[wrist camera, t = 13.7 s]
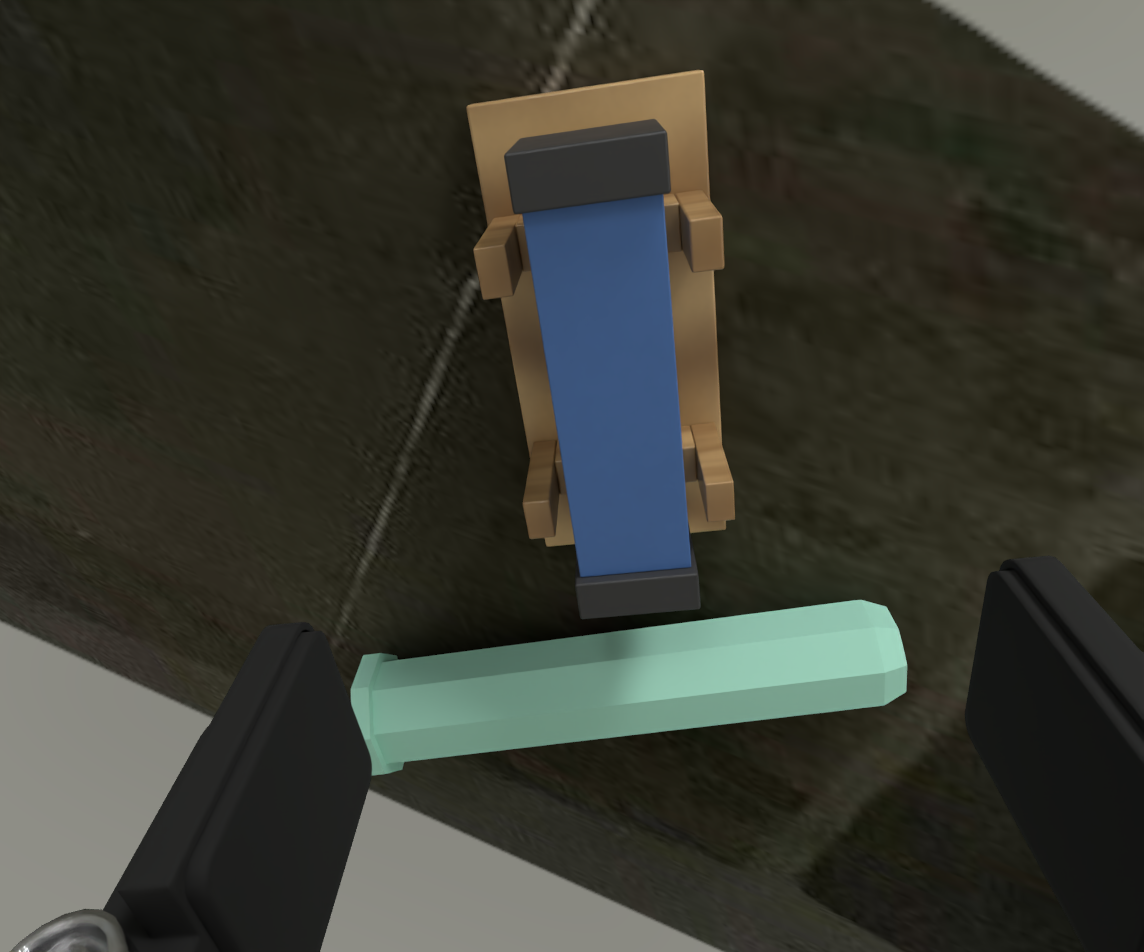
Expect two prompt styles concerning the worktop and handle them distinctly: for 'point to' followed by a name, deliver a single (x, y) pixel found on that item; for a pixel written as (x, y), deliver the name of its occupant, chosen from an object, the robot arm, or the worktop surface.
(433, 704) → the mint octagonal rod
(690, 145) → the holder
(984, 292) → the worktop surface
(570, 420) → the handle
